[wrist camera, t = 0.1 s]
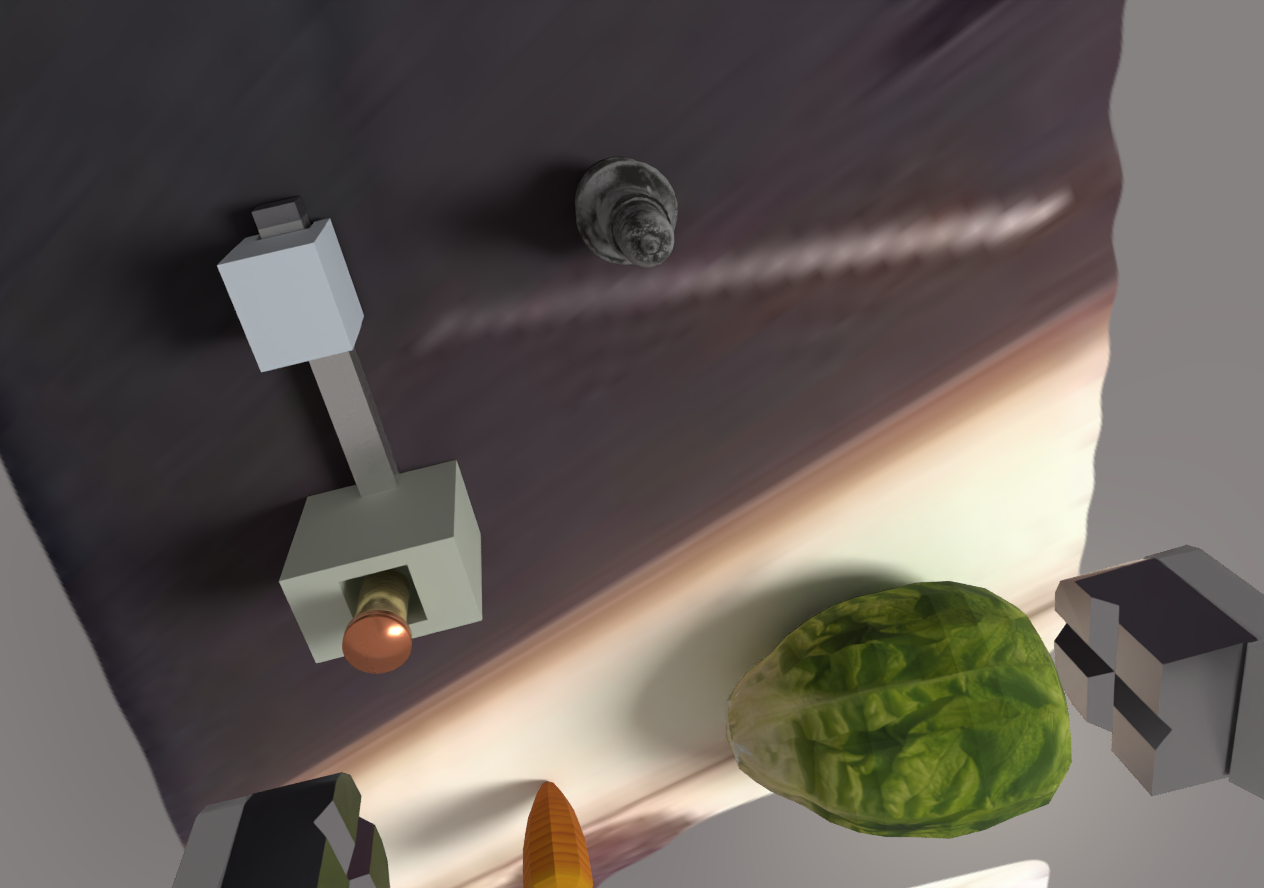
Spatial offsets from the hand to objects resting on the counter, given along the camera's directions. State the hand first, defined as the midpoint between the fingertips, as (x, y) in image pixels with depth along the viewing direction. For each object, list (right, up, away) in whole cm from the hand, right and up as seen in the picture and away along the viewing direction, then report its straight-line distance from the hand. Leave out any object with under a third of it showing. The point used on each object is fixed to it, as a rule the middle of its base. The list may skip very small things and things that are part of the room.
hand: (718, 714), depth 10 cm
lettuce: (+16, -13, +63) cm, 66 cm away
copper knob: (-16, -5, +44) cm, 47 cm away
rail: (-19, +8, +46) cm, 51 cm away
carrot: (-8, -24, +64) cm, 69 cm away
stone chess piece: (-2, +18, +45) cm, 48 cm away
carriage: (-20, +13, +44) cm, 50 cm away
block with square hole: (-17, -2, +51) cm, 54 cm away
